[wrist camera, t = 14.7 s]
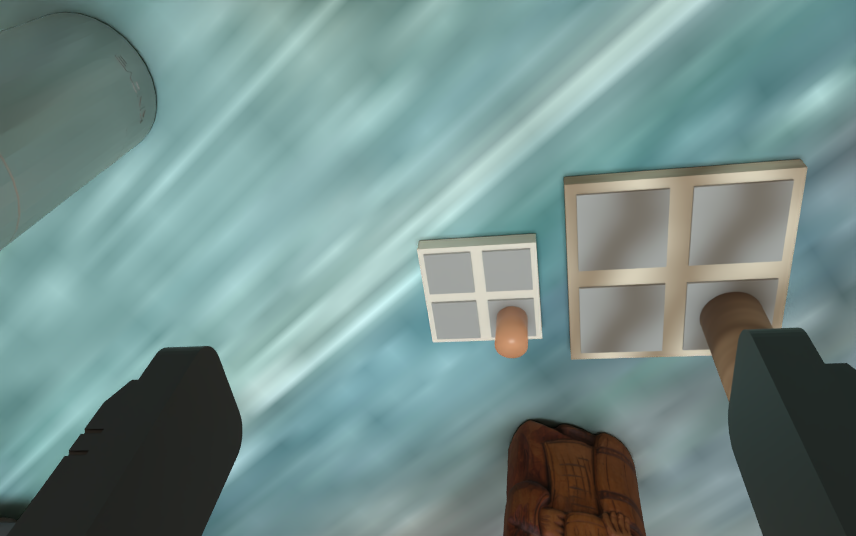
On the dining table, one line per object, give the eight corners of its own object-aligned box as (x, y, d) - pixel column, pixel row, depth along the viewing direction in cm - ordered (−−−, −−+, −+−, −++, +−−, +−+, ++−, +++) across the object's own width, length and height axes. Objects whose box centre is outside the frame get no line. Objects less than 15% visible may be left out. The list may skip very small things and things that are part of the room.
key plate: (434, 332, 51) (427, 370, 47) (419, 240, 47) (410, 274, 43) (541, 328, 50) (543, 367, 46) (535, 233, 46) (536, 268, 42)
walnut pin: (698, 341, 47) (727, 424, 40) (701, 293, 45) (732, 373, 38) (759, 338, 46) (800, 423, 39) (765, 289, 44) (809, 370, 37)
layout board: (570, 348, 50) (571, 361, 49) (563, 177, 43) (564, 186, 42) (771, 342, 48) (777, 355, 47) (800, 159, 41) (808, 168, 39)
